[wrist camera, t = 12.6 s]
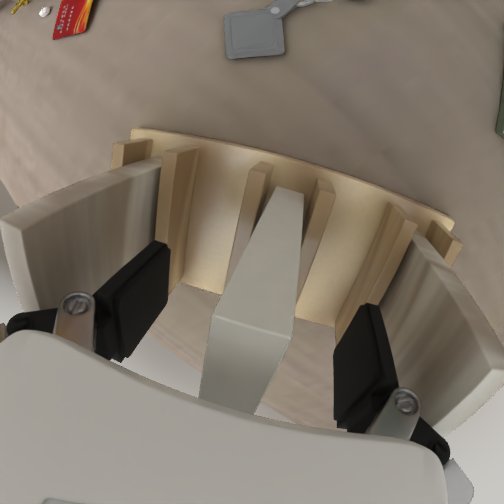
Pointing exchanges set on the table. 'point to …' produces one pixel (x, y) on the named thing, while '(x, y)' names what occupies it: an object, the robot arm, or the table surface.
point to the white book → (256, 309)
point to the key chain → (258, 30)
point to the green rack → (501, 115)
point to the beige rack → (237, 236)
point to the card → (72, 17)
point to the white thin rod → (44, 11)
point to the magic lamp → (21, 2)
